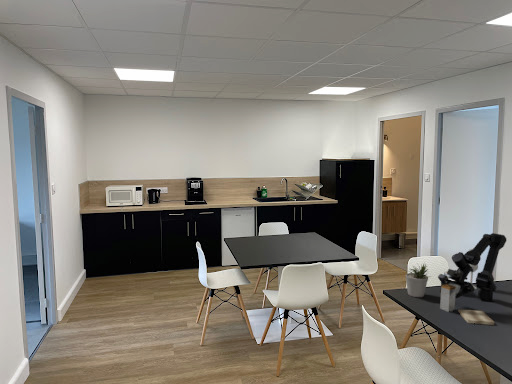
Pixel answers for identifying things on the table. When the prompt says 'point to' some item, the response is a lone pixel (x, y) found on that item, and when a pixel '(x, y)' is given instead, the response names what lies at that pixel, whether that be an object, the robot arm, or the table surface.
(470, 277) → the champagne flute
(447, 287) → the aluminium block
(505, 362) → the table surface
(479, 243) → the robot arm
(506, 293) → the table surface
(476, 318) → the birch board
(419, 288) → the potted plant
